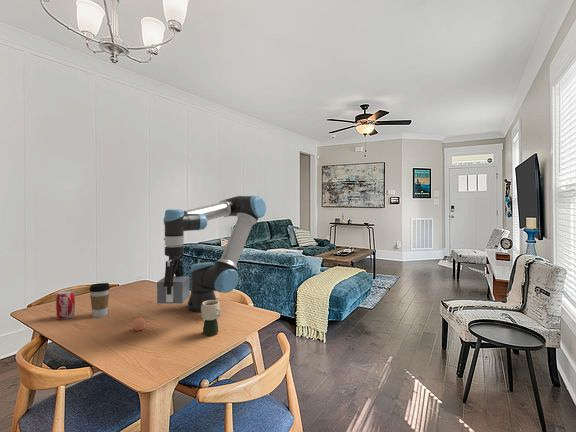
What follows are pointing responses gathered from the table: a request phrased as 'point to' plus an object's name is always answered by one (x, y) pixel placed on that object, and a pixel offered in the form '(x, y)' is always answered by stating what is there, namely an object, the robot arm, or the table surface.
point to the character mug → (210, 316)
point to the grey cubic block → (174, 290)
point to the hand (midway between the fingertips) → (174, 297)
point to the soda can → (65, 305)
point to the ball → (138, 324)
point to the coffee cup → (99, 299)
